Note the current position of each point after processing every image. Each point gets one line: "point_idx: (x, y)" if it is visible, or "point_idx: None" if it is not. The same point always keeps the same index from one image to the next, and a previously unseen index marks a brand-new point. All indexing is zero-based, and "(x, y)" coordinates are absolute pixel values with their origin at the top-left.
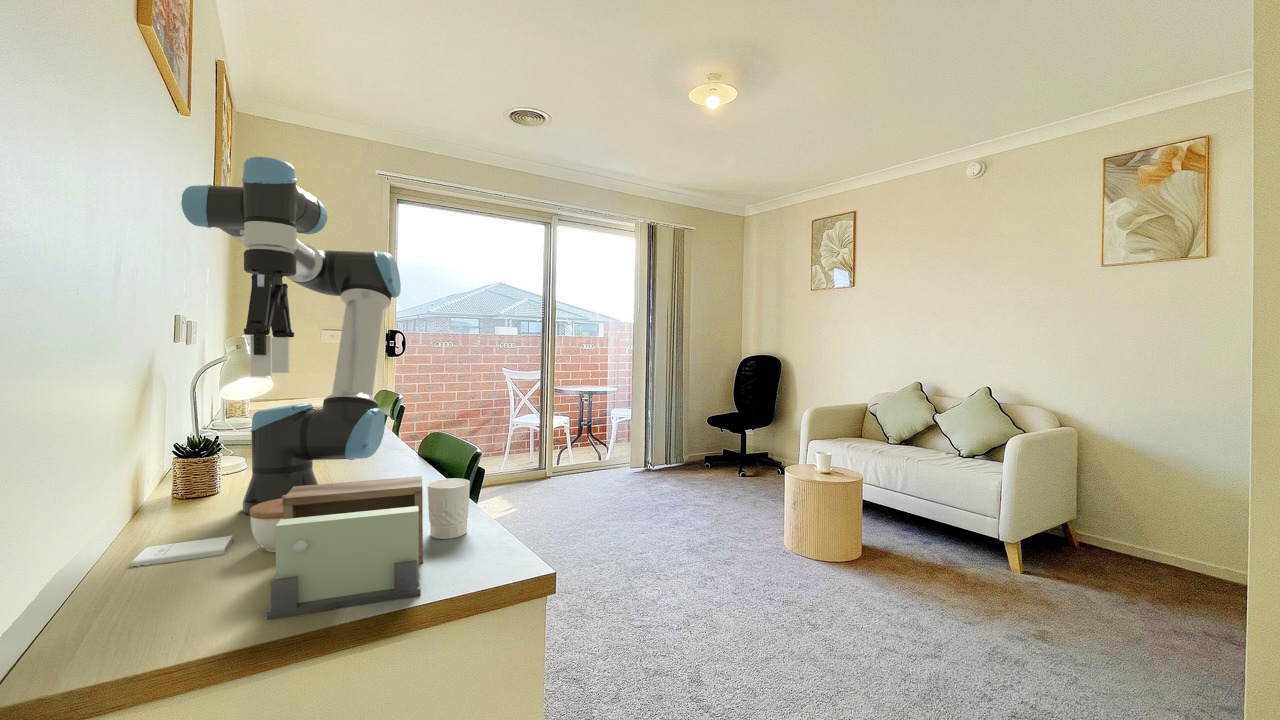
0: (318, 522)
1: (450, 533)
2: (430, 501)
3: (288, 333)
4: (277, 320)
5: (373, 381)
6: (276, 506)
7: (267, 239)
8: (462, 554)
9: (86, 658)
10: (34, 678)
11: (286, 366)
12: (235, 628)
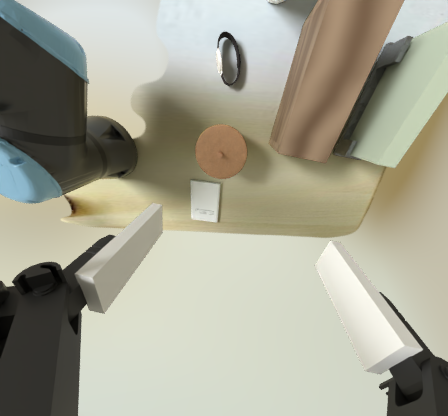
0: (416, 135)
1: None
2: None
3: (51, 292)
4: (68, 409)
5: None
6: (227, 160)
7: None
8: None
9: (332, 221)
10: (337, 232)
11: (154, 216)
12: (354, 173)
